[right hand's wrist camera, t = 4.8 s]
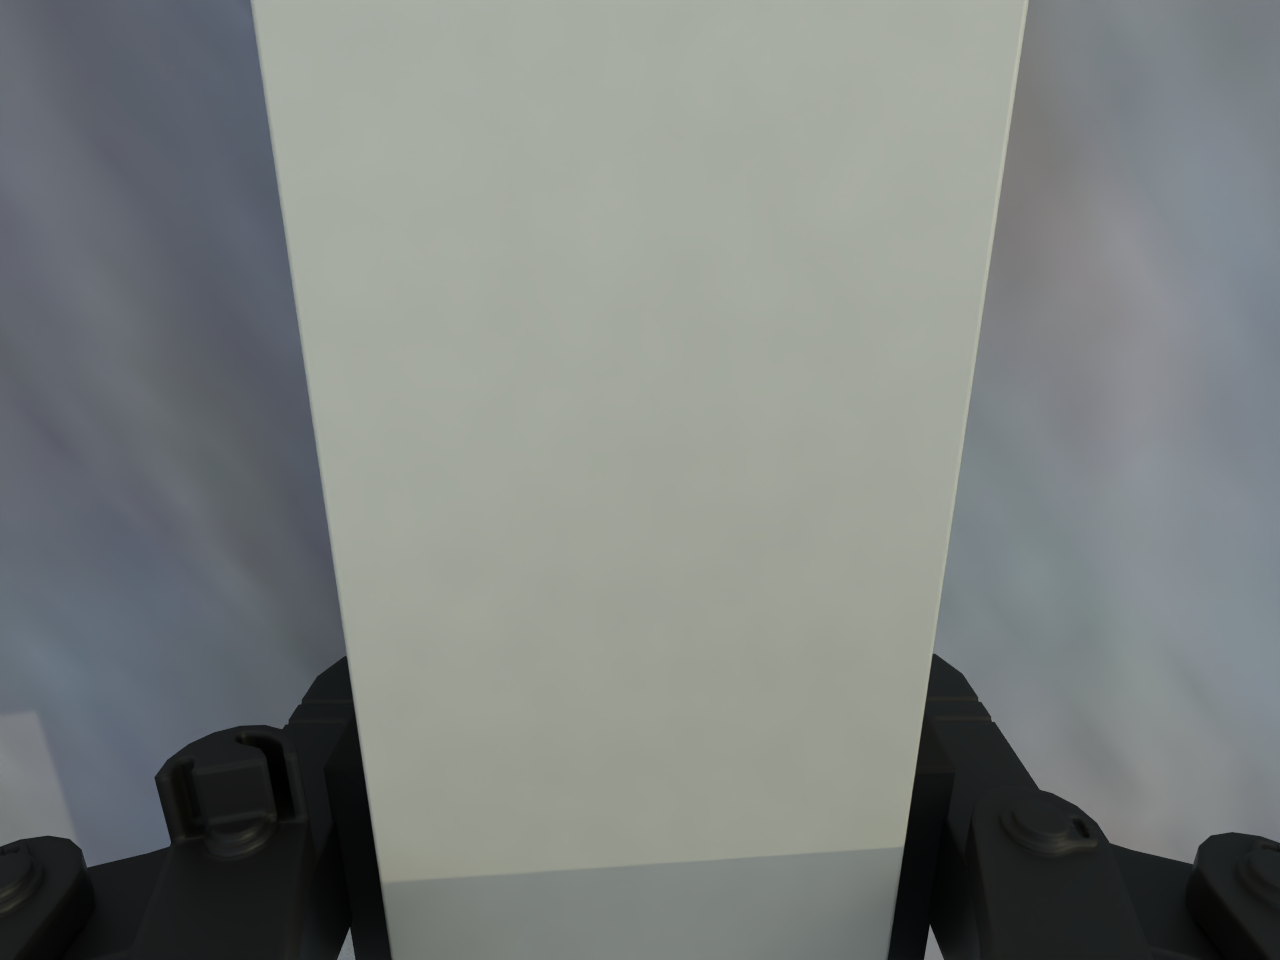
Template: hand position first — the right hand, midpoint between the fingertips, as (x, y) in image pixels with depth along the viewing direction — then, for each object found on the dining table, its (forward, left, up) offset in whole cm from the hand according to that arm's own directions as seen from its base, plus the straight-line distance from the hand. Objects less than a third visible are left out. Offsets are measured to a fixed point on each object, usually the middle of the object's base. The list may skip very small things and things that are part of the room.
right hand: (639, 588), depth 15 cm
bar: (+19, +21, -1) cm, 28 cm away
